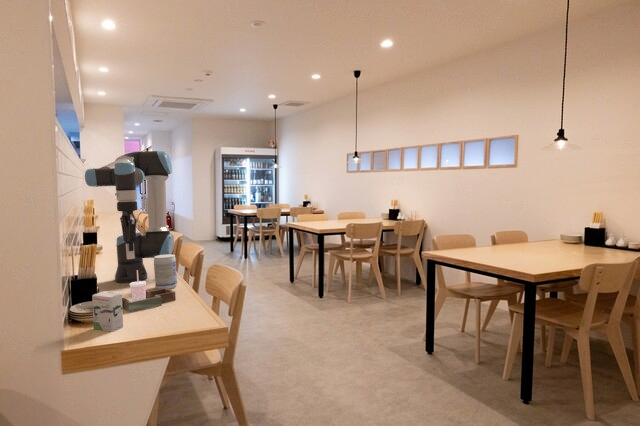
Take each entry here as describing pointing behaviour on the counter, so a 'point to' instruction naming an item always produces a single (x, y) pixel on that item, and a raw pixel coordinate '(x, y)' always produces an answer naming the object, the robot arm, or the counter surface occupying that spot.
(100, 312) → the ink box
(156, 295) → the divided tray
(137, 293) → the beverage cup
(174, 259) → the supplement tub
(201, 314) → the counter surface
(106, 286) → the counter surface
